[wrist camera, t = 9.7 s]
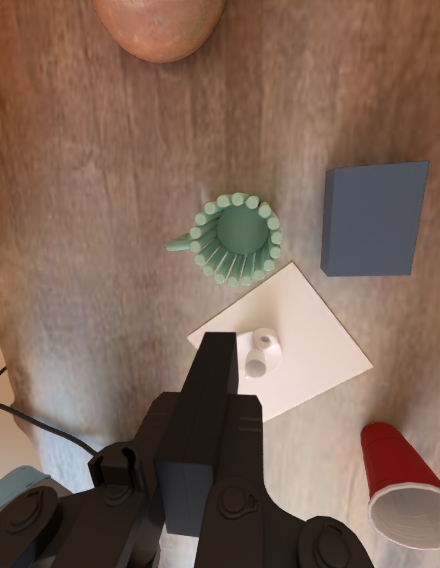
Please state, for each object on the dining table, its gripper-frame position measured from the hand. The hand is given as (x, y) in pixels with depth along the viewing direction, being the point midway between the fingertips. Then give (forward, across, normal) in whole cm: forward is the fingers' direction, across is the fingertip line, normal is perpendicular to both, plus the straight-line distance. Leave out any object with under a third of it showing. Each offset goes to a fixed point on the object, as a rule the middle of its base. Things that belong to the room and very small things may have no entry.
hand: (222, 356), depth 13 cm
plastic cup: (+25, -20, +30) cm, 44 cm away
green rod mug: (+23, -5, -4) cm, 24 cm away
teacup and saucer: (+25, -4, +15) cm, 29 cm away
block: (+25, -14, -4) cm, 29 cm away
